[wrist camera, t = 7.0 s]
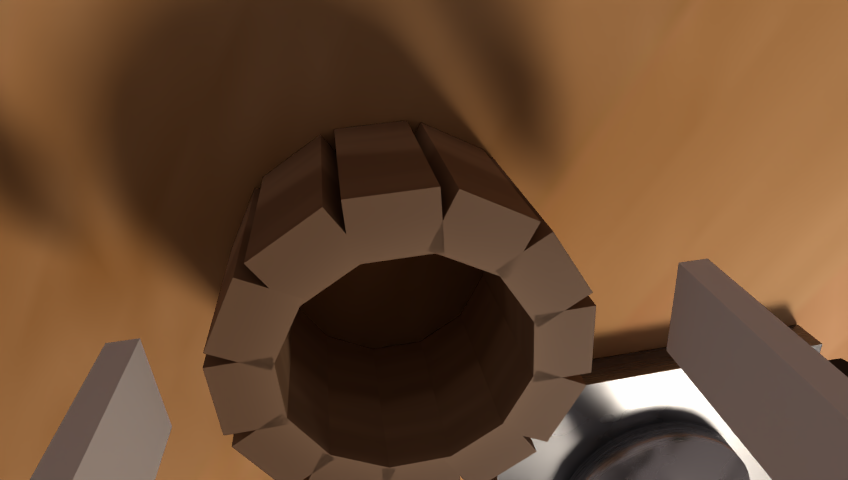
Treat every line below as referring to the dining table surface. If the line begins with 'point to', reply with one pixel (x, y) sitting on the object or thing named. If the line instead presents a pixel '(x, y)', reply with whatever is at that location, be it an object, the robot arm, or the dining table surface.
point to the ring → (402, 364)
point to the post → (641, 428)
